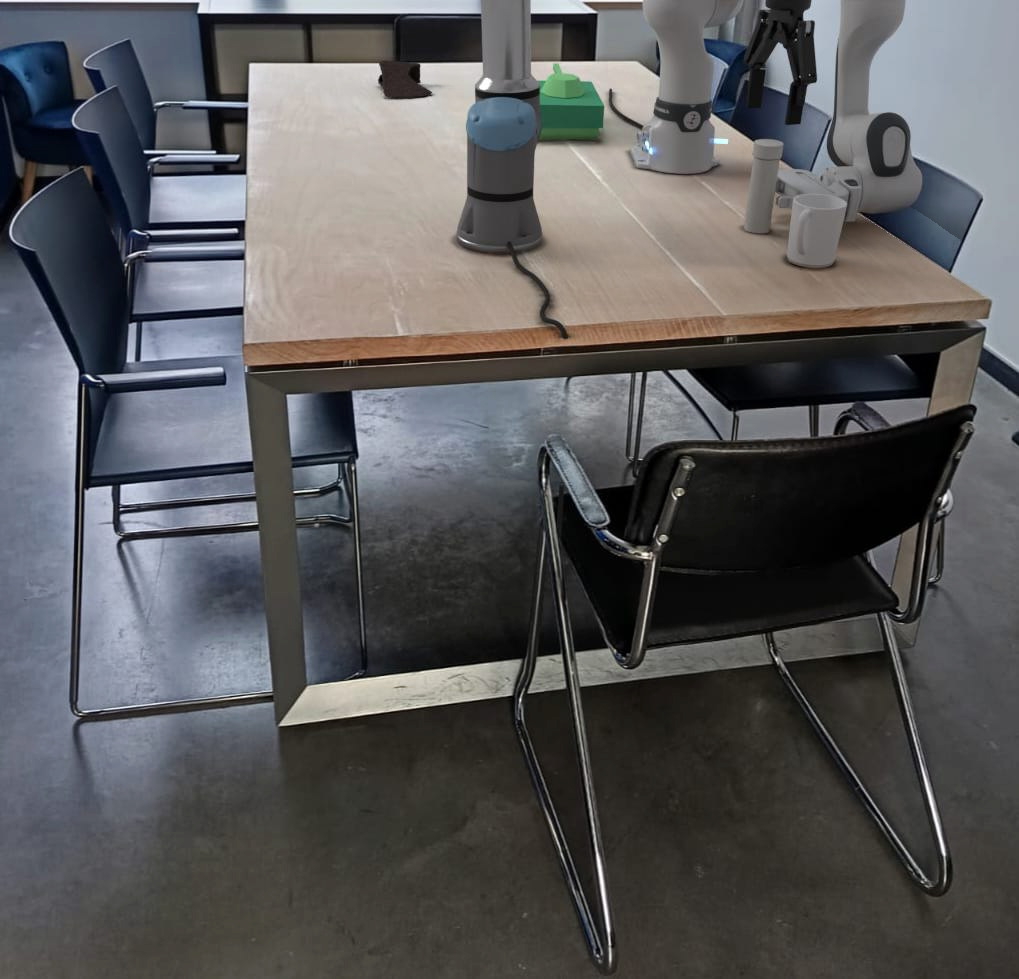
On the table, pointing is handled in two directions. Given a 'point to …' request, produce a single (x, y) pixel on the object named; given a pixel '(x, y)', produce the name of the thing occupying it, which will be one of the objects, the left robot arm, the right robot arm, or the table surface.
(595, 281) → the table surface
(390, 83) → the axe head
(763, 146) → the lid
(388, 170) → the table surface
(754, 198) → the grey bottle
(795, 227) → the mug
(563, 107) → the toy tank
